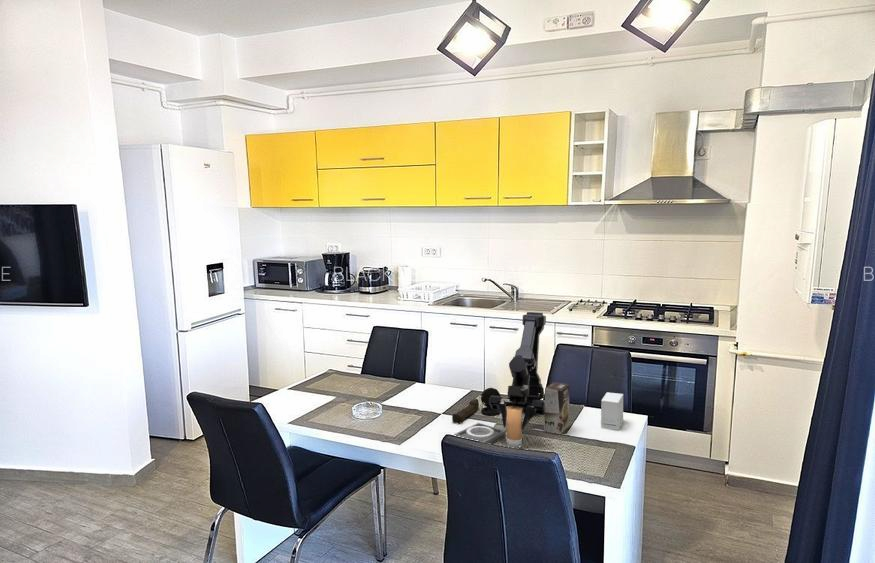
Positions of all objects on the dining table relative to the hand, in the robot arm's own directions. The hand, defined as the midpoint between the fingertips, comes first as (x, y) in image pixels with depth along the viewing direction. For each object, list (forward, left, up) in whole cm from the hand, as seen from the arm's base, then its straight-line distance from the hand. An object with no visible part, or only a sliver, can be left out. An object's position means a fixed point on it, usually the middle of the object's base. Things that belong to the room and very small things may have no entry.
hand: (513, 428), depth 188 cm
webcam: (0, -33, -7) cm, 34 cm away
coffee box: (-20, -13, -7) cm, 25 cm away
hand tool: (+10, -32, -7) cm, 34 cm away
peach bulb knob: (-1, -1, -7) cm, 7 cm away
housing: (+9, -9, -7) cm, 15 cm away
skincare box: (-41, -15, -7) cm, 44 cm away
